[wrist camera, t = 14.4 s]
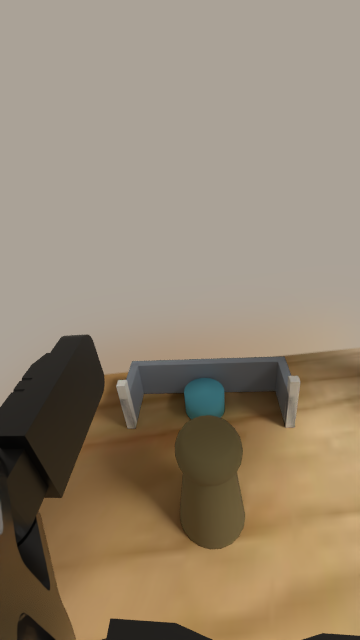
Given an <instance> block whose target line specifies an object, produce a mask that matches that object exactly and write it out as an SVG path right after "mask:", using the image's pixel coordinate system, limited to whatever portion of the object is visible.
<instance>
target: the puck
mask: <svg viewBox="0 0 360 640" xmlns="http://www.w3.org/2000/svg"><path fill="white" fill-rule="evenodd" d="M184 396H185V406H186V413H187V415H188V417H189V418H190V419H193V418H196V417H199V416H206V415H211V416H216V417H220V418H221V417H222V415H223V414H224V410H225V402H224V388H223V386H222V384H221V383H219V382H218V381H216V380H214V379H211V378H199V379H195V380H193V381H191V382H189V383H188V384H187V385H186V387H185V389H184Z"/></svg>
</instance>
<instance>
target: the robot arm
mask: <svg viewBox="0 0 360 640" xmlns="http://www.w3.org/2000/svg"><path fill="white" fill-rule="evenodd" d="M104 382H105V381H104V373H103V370H102V367H101V364H100V361H99V358H98V355H97V352H96V349H95V346H94V343H93V340H92V338H91V336H89V335H72V336H63V337H61V338H60V340H59V341H58V343H57V344H56V345H55V347H54V348H53V350H52V351H51V353H46V354H45V355H44V356H42V357H41V358H40V359H39V360H37V361H36V362H35V363H33V364H32V365H31V367H30V368H29V369H28V371H27V372H26V373H25V375H24V376H23V378H22V381H19V383H18V384H17V386H16V387H15V389H14V392H13V393H11V394H10V395H9V396H8V398H7V399H6V400H5V402H4V403H3V404H2V406H1V407H0V640H76V638H75V634H74V631H73V628H72V625H71V622H70V619H69V617H68V614H67V612H66V610H65V608H64V606H63V603H62V601H61V598H60V595H59V592H58V588H57V583H56V579H55V575H54V570H53V566H52V562H51V557H50V553H49V548H48V544H47V540H46V535H45V531H44V526H43V522H42V518H41V515H40V513H39V511H38V510H39V508H40V506H41V503H42V501H43V499H44V498H62V496H63V493H64V491H65V488H66V486H67V483H68V481H69V478H70V475H71V473H72V470H73V468H74V465H75V463H76V460H77V458H78V455H79V453H80V450H81V448H82V445H83V442H84V440H85V437H86V435H87V432H88V430H89V427H90V425H91V422H92V420H93V417H94V415H95V412H96V409H97V407H98V404H99V402H100V399H101V397H102V394H103V391H104ZM102 640H212V639H210V638H207V637H205V636H203V635H201V634H199V633H196V632H194V631H192V630H190V629H188V628H185V627H183V626H181V625H179V624H176V623H167V622H153V621H138V620H124V619H110V623H109V628H108V634H107V638H106V639H102ZM303 640H360V636H354V635H340V634H325V633H322V634H319V635H316V636H313V637H309V638H306V639H303Z"/></svg>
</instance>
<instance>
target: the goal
mask: <svg viewBox="0 0 360 640" xmlns="http://www.w3.org/2000/svg"><path fill="white" fill-rule="evenodd" d="M199 378H211V379H214V380H216V381H218V382H219V383H221V384H222V386H223V388H224V392H256V391H276V395H277V398H278V402H279V406H280V409H281V413H282V416H283V420H284V424H285V427H295V419H296V412H297V404H298V397H299V390H300V379H299V377H298V376H291V373H290V371H289V368H288V365H287V362H286V360H285V357H252V358H220V359H189V360H157V361H132V363H131V366H130V370H129V372H128V375H127V378H126V380H118V383H117V385H116V387H117V391H118V395H119V398H120V402H121V406H122V410H123V413H124V417H125V421H126V425H127V428H136V424H137V420H138V416H139V412H140V408H141V403H142V399H143V395H144V394H153V393H184V389H185V387H186V385H187V384H188V383H189V382H191V381H193V380H195V379H199Z"/></svg>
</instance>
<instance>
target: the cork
mask: <svg viewBox="0 0 360 640" xmlns="http://www.w3.org/2000/svg"><path fill="white" fill-rule="evenodd" d="M242 453H243V448H242V443H241V439H240V436H239V435H238V433H237V431H236V430H235V428H234V427H233V426H232V425H230V424H229V423H228V422H227V421H226V420H224V419H222V418H220V417H216V416H211V415H206V416H199V417H196V418H193V419H192V420H190V421H189V422H187V423H186V424H185V425H184V426H183V428H182V429H181V430H180V431H179V433H178V436H177V439H176V442H175V456H176V460H177V463H178V465H179V468H180V469H181V471H182V472H183V478H182V490H181V502H180V520H181V523H182V527H183V530H184V531H185V533H186V534H187V535H188V537H189V538H190V539H191V540H192V541H193V542H195V543H196V544H197V545H199V546H201V547H205V548H208V549H221V548H224V547H226V546H228V545H230V544H232V543H233V542H234V541H235V540H236V539H237V538H238V537H239V535H240V533H241V531H242V529H243V527H244V520H245V512H244V507H243V501H242V496H241V491H240V486H239V481H238V476H237V470H238V468H239V467H240V465H241V460H242Z"/></svg>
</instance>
